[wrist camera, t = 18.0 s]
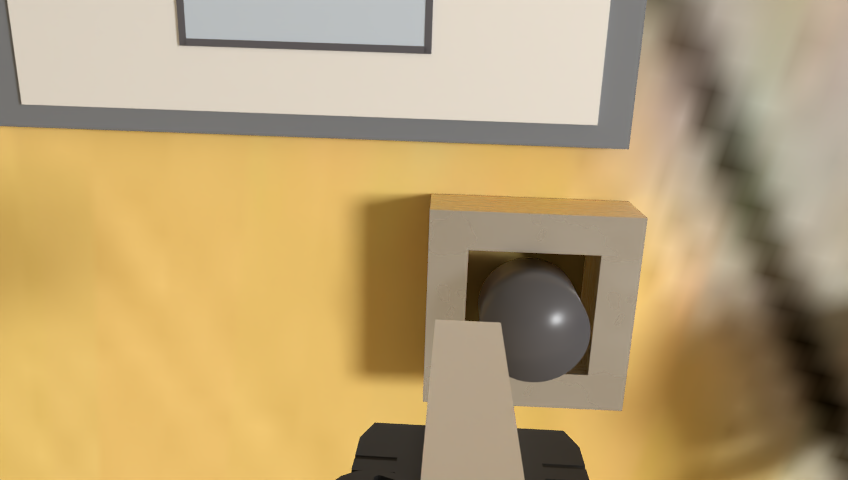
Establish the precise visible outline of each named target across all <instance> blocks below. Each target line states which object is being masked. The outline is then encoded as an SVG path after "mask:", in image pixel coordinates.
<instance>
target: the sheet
mask: <svg viewBox="0 0 848 480" xmlns="http://www.w3.org/2000/svg"><path fill="white" fill-rule="evenodd" d="M646 2H647V0H0V126H17V127H44V128H71V129H98V130H125V131H152V132H179V133H206V134H233V135H260V136H287V137H314V138H341V139H369V140H396V141H423V142H450V143H477V144H504V145H531V146H558V147H585V148H612V149H629V143H630V135H631V126H632V118H633V110H634V102H635V93H636V85H637V77H638V68H639V60H640V52H641V44H642V35H643V27H644V19H645V10H646Z"/></svg>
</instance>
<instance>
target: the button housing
mask: <svg viewBox="0 0 848 480" xmlns="http://www.w3.org/2000/svg"><path fill="white" fill-rule="evenodd" d="M646 226H647V217H646V216H645V215H643V214H642V213H641V212H640V211H639V210H638V209H637V208H635V207H634V206H633V205H632V204H631V203H630V202H629V201H605V200H579V199H553V198H527V197H502V196H476V195H450V194H431V203H430V218H429V246H428V274H427V302H426V331H425V359H424V387H423V402H428V394H429V383H430V372H431V361H432V350H433V339H434V328H435V320H456V321H465V307H466V289H467V270H468V251H469V250H477V251H501V252H526V253H550V254H574V255H585V263H584V272H583V281H582V291H581V300H580V301H581V302H582V304H583V306H584V308H585V310H586V313H587V315H588V318H589V322H590V340H589V344H588V347H587V350H586V352H585V354H584V355H583V357H582V358H581V360H580V361H579V362H578V363H577V365H576V366H575V367H573V368H572V369H571V370H570V371H568V372H567V373H565V374H564V375H562V376H560V377H558V378H555V379H552V380H549V381H544V382H524V381H520V380H516V379H513V378H511V377H509V380H510V386H511V393H512V400H513V406H530V407H552V408H573V409H595V410H616V411H622V407H623V399H624V392H625V384H626V377H627V369H628V362H629V354H630V346H631V339H632V331H633V324H634V316H635V309H636V301H637V294H638V286H639V279H640V271H641V264H642V256H643V249H644V241H645V234H646Z"/></svg>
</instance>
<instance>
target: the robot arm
mask: <svg viewBox="0 0 848 480" xmlns="http://www.w3.org/2000/svg"><path fill="white" fill-rule="evenodd" d="M336 480H589V478H588V474H587V471H586V469H585V464H584V461H583V458H582V454H581V451H580V448H579V447H578V445H577V444H576V443H575V442H574V441H573V440H572V439H571V438H570V437H569V436H568V435H567V434H566V433H565V432H564V431H556V430H537V429H519V428H517V426H516V419H515V413H514V406H513V400H512V393H511V386H510V380H509V373H508V367H507V360H506V354H505V347H504V341H503V334H502V327H501V323H499V322H478V321H456V320H435V328H434V339H433V350H432V361H431V372H430V383H429V394H428V405H427V415H426V425H408V424H389V423H374V424H373V425H372V426H371V427H370V428H369V429H368V430H367V431H366V432H365V433H364V434H363V435H362V436H361V437H360V439H359V443H358V447H357V451H356V455H355V459H354V462H353V466H352V472H351V473H349V474H346V475H343V476H341V477H339V478H338V479H336Z"/></svg>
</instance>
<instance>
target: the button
mask: <svg viewBox="0 0 848 480" xmlns="http://www.w3.org/2000/svg"><path fill="white" fill-rule="evenodd" d="M478 313H479V321H480V322H499V323H501V327H502V334H503V341H504V347H505V354H506V360H507V367H508V373H509V377H511V378H513V379H516V380H520V381H524V382H544V381H549V380H552V379H555V378H558V377H560V376H562V375H564V374H565V373H567V372H568V371H570V370H571V369H572V368H573V367H575V366H576V365H577V363H578V362H579V361H580V360H581V358H582V357H583V355H584V354H585V352H586V350H587V347H588V344H589V340H590V322H589V318H588V315H587V313H586V310H585V308H584V306H583V304H582V302H581V301H580V299H579V297H578V295H577V293H576V291H575V289H574V287H573V285H572V283H571V281H570V280H569V278H568V277H567V275H566V274H565V273H564V272H563V271H562V270H561V269H560V268H559V267H557V266H556V265H554V264H552V263H550V262H548V261H545V260H542V259H538V258H518V259H514V260H511V261H508V262H506V263H504V264H502V265H500V266H499V267H497V268H496V269H495V270H494V271H493V272H492V273H491V274H490V275H489V276H488V277H487V278H486V280H485V281H484V283H483V285H482V287H481V289H480V293H479V297H478Z"/></svg>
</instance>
